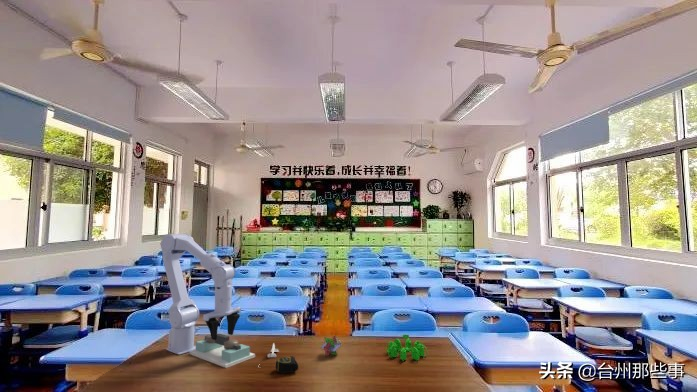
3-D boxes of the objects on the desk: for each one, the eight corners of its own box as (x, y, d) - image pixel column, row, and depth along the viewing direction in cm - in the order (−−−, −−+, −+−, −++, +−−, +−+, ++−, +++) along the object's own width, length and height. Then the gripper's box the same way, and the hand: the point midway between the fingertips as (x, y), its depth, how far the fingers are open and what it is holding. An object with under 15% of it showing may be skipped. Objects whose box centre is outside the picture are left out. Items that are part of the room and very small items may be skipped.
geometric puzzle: (328, 355, 123) (337, 333, 127) (314, 351, 127) (323, 329, 131) (338, 363, 127) (346, 341, 131) (324, 358, 131) (332, 337, 135)
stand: (189, 354, 131) (190, 342, 131) (218, 345, 140) (218, 334, 141) (226, 367, 118) (226, 355, 118) (255, 356, 127) (255, 345, 128)
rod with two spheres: (200, 340, 133) (200, 332, 134) (211, 337, 137) (212, 329, 137) (233, 351, 122) (233, 342, 122) (244, 347, 125) (245, 338, 126)
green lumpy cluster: (436, 358, 125) (435, 338, 126) (400, 366, 119) (400, 345, 119) (410, 345, 139) (410, 327, 139) (377, 352, 132) (377, 333, 133)
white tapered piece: (265, 353, 133) (265, 340, 133) (283, 352, 133) (283, 340, 133) (255, 369, 118) (256, 355, 118) (275, 369, 118) (276, 355, 118)
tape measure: (298, 374, 113) (298, 361, 113) (276, 377, 111) (276, 364, 111) (295, 366, 119) (295, 354, 120) (274, 368, 117) (274, 356, 118)
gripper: (211, 303, 122) (210, 344, 121) (246, 296, 134) (245, 333, 133) (200, 301, 126) (199, 340, 125) (234, 294, 138) (234, 330, 137)
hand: (222, 336), depth 129 cm, fingers open, 6 cm apart
